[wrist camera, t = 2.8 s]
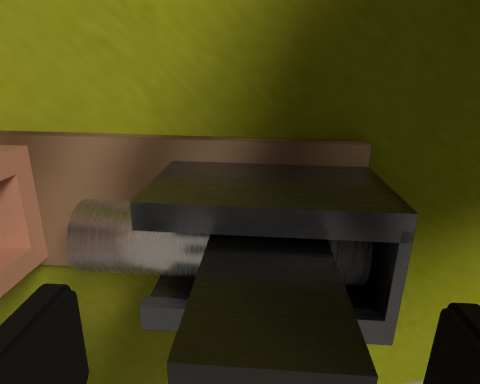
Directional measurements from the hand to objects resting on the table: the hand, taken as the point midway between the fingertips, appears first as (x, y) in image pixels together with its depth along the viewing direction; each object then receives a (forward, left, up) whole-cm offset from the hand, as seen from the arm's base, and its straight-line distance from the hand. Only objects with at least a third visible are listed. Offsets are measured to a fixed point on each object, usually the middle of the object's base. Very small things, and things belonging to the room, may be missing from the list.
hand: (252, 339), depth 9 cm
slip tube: (+1, +1, -7) cm, 7 cm away
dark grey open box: (0, 0, -9) cm, 9 cm away
